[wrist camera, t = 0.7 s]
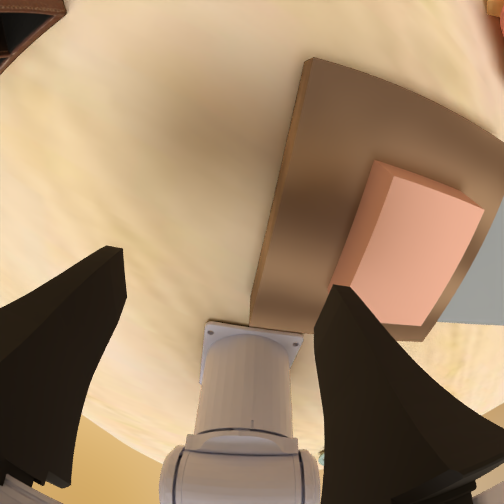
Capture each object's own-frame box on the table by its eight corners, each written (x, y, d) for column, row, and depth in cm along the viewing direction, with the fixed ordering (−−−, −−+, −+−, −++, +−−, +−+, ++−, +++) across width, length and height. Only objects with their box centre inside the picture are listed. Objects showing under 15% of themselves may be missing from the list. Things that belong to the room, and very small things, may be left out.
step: (410, 316, 23) (422, 341, 20) (250, 296, 22) (249, 325, 19) (491, 140, 14) (518, 153, 12) (304, 61, 13) (313, 57, 11)
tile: (407, 299, 18) (421, 326, 16) (327, 288, 17) (334, 318, 15) (460, 191, 14) (484, 209, 11) (373, 159, 13) (393, 175, 11)
